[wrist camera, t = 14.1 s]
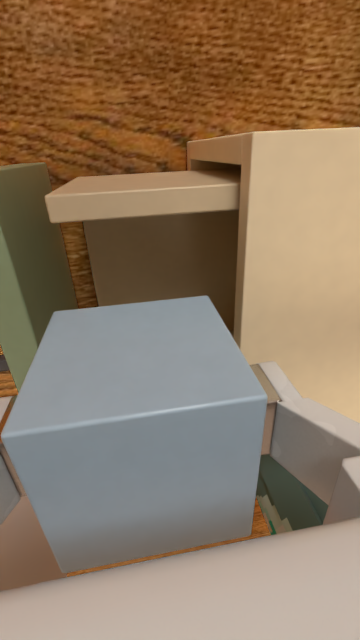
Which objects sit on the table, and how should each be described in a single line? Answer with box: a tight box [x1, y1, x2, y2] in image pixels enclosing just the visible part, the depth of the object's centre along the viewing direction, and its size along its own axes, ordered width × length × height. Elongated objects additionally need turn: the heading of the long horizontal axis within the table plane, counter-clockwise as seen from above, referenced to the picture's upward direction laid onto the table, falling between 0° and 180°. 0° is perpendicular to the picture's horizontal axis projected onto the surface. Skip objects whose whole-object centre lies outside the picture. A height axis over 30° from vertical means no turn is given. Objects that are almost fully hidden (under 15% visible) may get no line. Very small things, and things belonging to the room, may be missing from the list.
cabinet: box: [187, 127, 360, 423], centre depth 16 cm, size 15×13×10 cm
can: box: [256, 454, 329, 535], centre depth 21 cm, size 6×6×15 cm
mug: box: [0, 496, 67, 591], centre depth 23 cm, size 12×8×11 cm
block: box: [1, 296, 268, 573], centre depth 8 cm, size 4×4×4 cm
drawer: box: [0, 162, 241, 393], centre depth 15 cm, size 18×11×8 cm, turn 92°
